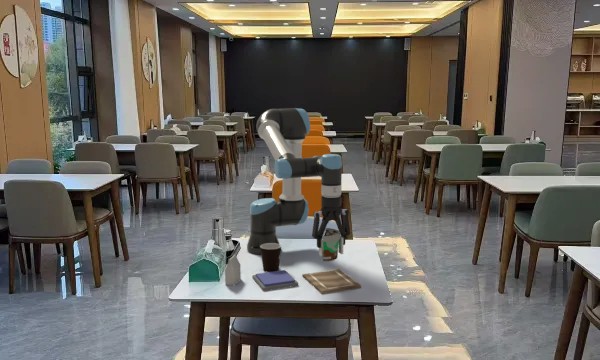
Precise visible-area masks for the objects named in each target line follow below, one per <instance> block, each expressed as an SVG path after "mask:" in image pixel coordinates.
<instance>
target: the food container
mask: <svg viewBox="0 0 600 360" xmlns="http://www.w3.org/2000/svg"><path fill="white" fill-rule="evenodd" d="M340 236H341V235H340V232H339V230H337V229H336V228H335V229H334V228H329V227H326V228H325V231H324V234H323V237H322V239H323V257H322V258H323V259H322V260H323V262H331V261H335V260H337V259H338V257H339V256H338V253H339V239H340V238H341V237H340Z"/></svg>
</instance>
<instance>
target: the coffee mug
mask: <svg viewBox="0 0 600 360" xmlns="http://www.w3.org/2000/svg"><path fill="white" fill-rule="evenodd" d="M260 249H261V254H260V255H261V261H262V270H263V272H264V273H266V272H274V271H280V269H279V268H280V262H281V253H282V252H281V251H282V245H281V244H280V243H279V244H276V243H266V244H262V245H261V246H260Z"/></svg>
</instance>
